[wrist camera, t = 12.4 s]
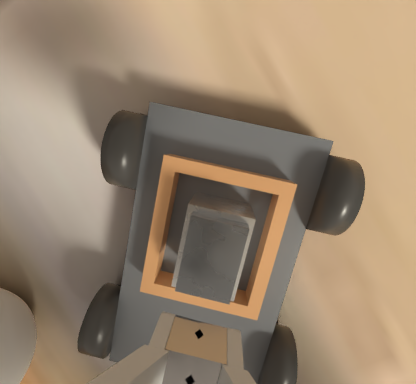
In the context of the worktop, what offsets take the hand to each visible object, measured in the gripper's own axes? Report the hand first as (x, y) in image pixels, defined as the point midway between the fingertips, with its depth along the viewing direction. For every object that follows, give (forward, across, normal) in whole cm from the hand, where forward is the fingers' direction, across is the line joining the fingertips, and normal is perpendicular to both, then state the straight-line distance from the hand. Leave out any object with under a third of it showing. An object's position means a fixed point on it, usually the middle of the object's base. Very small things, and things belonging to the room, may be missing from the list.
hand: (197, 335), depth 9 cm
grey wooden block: (+11, 0, 0) cm, 11 cm away
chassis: (+14, 0, +3) cm, 15 cm away
